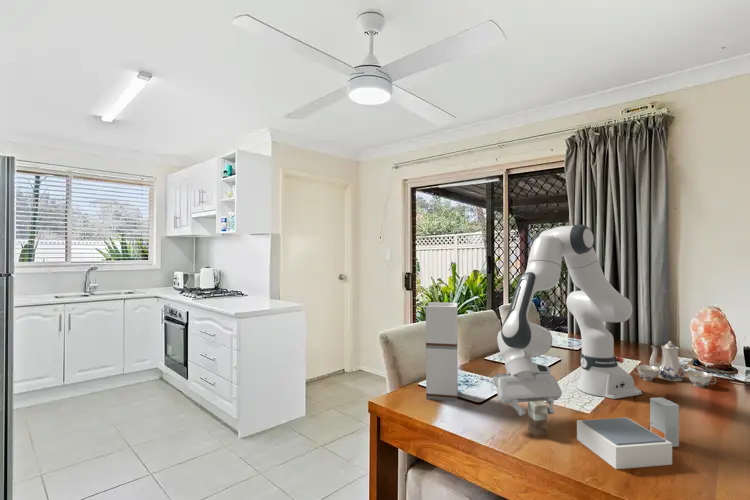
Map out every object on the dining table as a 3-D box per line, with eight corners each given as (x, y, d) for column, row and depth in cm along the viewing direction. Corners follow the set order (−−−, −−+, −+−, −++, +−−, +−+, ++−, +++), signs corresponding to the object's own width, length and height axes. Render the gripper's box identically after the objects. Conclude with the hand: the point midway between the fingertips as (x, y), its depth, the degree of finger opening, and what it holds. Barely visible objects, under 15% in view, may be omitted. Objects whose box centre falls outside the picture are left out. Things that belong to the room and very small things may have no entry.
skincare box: (649, 437, 119) (649, 397, 119) (662, 436, 120) (662, 397, 119) (665, 447, 113) (665, 405, 113) (679, 447, 114) (679, 404, 113)
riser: (626, 435, 120) (626, 415, 120) (672, 464, 104) (672, 441, 104) (576, 439, 118) (576, 419, 118) (616, 469, 102) (615, 445, 102)
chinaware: (636, 385, 168) (637, 347, 166) (628, 370, 183) (629, 335, 181) (720, 395, 157) (722, 354, 155) (704, 377, 172) (705, 340, 171)
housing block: (540, 428, 125) (540, 400, 125) (547, 434, 121) (547, 405, 121) (528, 429, 125) (528, 400, 125) (534, 435, 121) (534, 405, 121)
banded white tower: (457, 391, 158) (457, 302, 158) (457, 401, 148) (456, 306, 148) (428, 389, 161) (428, 302, 161) (426, 398, 151) (425, 306, 150)
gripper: (494, 369, 129) (508, 411, 120) (553, 366, 132) (572, 408, 122) (488, 378, 134) (501, 420, 124) (546, 376, 136) (563, 416, 127)
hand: (537, 414), depth 123 cm, fingers open, 8 cm apart
